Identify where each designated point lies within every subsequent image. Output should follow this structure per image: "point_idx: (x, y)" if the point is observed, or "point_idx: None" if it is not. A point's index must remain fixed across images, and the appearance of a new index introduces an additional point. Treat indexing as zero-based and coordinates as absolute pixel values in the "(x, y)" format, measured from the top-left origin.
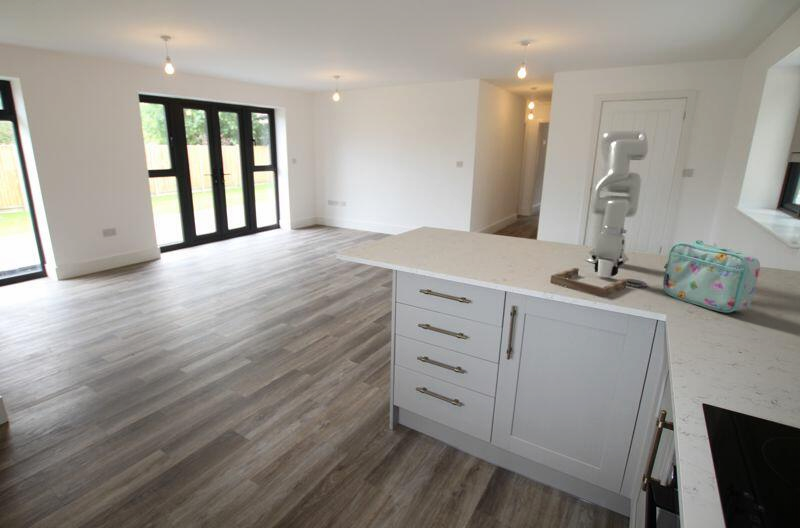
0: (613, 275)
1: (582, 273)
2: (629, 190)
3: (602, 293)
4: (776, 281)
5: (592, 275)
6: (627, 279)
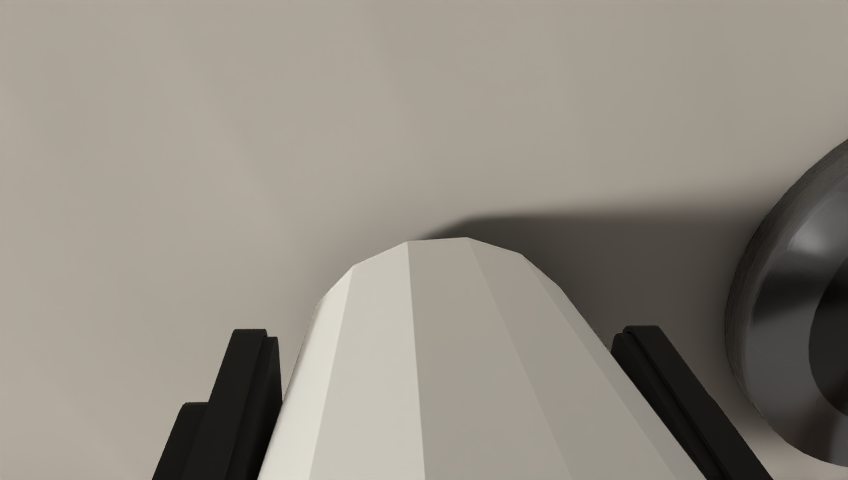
0: None
1: (8, 364)
2: None
3: None
4: None
5: (201, 337)
6: (845, 245)
